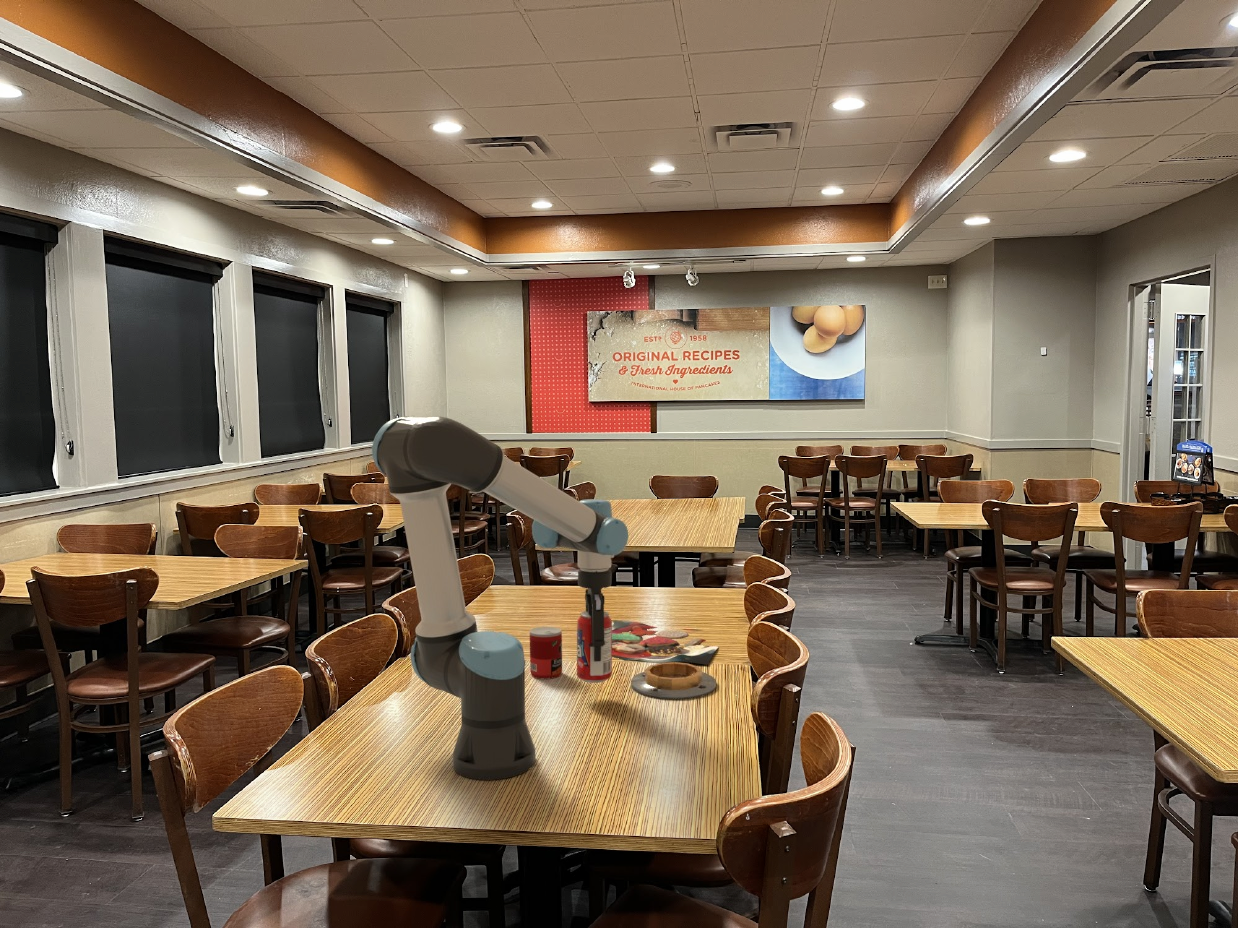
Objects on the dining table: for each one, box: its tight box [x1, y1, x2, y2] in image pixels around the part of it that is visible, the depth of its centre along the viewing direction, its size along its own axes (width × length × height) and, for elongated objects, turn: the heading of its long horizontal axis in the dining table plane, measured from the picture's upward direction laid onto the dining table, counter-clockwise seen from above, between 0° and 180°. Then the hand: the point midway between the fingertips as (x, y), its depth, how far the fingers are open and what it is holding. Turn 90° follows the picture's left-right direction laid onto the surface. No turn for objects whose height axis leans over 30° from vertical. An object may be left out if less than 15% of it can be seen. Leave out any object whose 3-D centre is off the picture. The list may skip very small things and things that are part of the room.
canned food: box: [529, 626, 563, 680], centre depth 212 cm, size 8×8×11 cm
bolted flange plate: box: [630, 661, 717, 700], centre depth 203 cm, size 20×20×4 cm
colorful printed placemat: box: [612, 619, 719, 665], centre depth 239 cm, size 35×35×2 cm
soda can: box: [576, 610, 613, 684], centre depth 193 cm, size 8×8×15 cm
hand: (594, 669), depth 193 cm, fingers closed on soda can, 8 cm apart
